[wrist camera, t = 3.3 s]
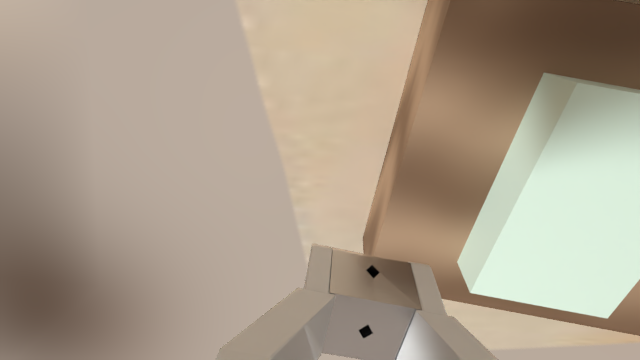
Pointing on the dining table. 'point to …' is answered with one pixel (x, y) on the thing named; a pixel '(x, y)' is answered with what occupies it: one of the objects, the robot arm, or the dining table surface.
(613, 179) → the mint green block
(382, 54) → the dining table surface
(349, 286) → the robot arm
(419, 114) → the board
